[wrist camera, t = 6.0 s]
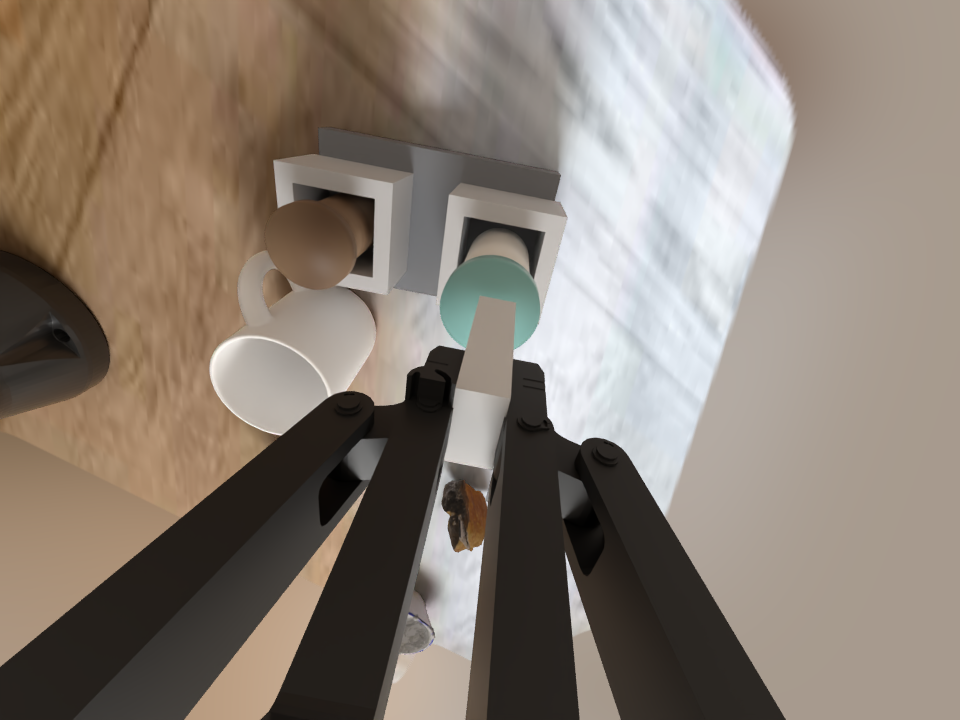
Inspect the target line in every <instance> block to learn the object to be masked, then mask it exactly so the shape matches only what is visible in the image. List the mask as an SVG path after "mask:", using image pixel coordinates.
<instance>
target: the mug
mask: <svg viewBox="0 0 960 720" xmlns="http://www.w3.org/2000/svg"><path fill="white" fill-rule="evenodd" d="M271 269H277V268H276V266H275V265H274V263H273V262H272V260H271V258H270V256H269V254H268V251H262V252H259V253H257V254H255V255H253V256H252V257H250V258H249V259H248V260H247V262H246V263H245V265H244V266H243V268H242V270H241V272H240V275H239V279H238V300H239V304H240V308H241V312H242V315H243V317H244V320H245V322H246V325H245V326H244V327H242V328H241V329H239V330H238V331H237V332H236V333H234V334H233V335H232V336H230V337H229V338H227V339H226V340H224V341H223V342H222V343H221V344H220V345H218V347H217V348H216V349H215V351H214V353H213V355H212V357H211V361H210V368H209V370H210V378H211V381H212V384H213V387H214V389H215V391H216V393H217V395H218V396H219V398H220V399H221V400H222V402H223V403H224V404H225V405H226V406H227V408H228V409H230V410H231V411H232V412H233V413H234V414H235V415H236V416H237V417H239V418H240V419H242V420H243V421H245V422H246V423H248V424H250V425H251V426H253V427H255V428H258V429H260V430H262V431H265V432H268V433H272V434H276V435H283V434H284V433H285V432H286V431H288V430H289V429H290V428H291V427H292V426H294V425H295V424H296V423H297V422H299V421H300V420H301V419H302V418H303V417H305V416H306V415H307V414H308V413H309V412H311V411H312V410H313V409H314V408H316V407H317V406H318V405H319V404H320V403H322V402H323V401H324V400H325V399H326V398H328V397H330V396H332V395H333V394H336V393H340V392H344V391H346V390H347V389H348V387H349V385H350V384H351V382H352V381H353V379H354V378H355V376H356V375H357V373H358V372H359V370H360V369H361V367H362V365H363V364H364V362H365V361H366V359H367V358H368V356H369V354H370V353H371V351H372V349H373V346H374V343H375V339H376V326H375V322H374V319H373V316H372V314H371V312H370V310H369V308H368V307H367V306H366V304H365V303H364V302H363V301H362V300H361V298H359V297H358V296H357V295H356V294H355V293H353V292H352V291H351V290H349V289H347V288H345V287H342V286H337V285H335V286H333V287H331V288H328V289H323V290H313V289H308V288H304V287H301V286H299V285H297V284H295V283H293V282H292V281H290V280H289V279H287V280H288V281H289V283H290V285H291V287H292V290H293V291H291V292H290V293H288V294H287V295H285V296H284V297H283V298H282V299H280V300H279V301H277V302H276V303H275V304H273V305H272V306H270V307H269V308H267V306H266V303H265V300H264V297H263V291H262V284H263V279H264V276H265V274H266V273H267V272H268V271H269V270H271ZM277 270H278V269H277Z"/></svg>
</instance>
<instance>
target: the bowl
mask: <svg viewBox="0 0 960 720" xmlns="http://www.w3.org/2000/svg"><path fill="white" fill-rule="evenodd" d="M434 638H435V634H434V630H433V628H432V626H431V624H430V621H429V617H428V614H427V610H426V607H425V602H424V601H423V599H422V597H421V596H420V594H419V593H418V592H416V591H415V590H414V592H413V596H412V600H411V604H410V609H409V613H408V617H407V621H406V625H405V630H404V634H403V638H402V642H401V647H400V651H399V654H404V655H406V654H414V653H418V652H421V651H423V650H425V649H427V648H428V647H429V646H430V645H431V643H432V642H433V640H434Z"/></svg>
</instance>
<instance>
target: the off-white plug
mask: <svg viewBox="0 0 960 720" xmlns="http://www.w3.org/2000/svg"><path fill="white" fill-rule="evenodd" d="M480 296H485V297H490V298H495V299H500V300H505V301H510V302H515V303H516V313H515V331H514V349H516V348H518V347H519V346H521V345H522V344H524V343H525V342H526V341H527V340H528V339H529V338H530V337H531V335H532V334H533V332H534V331H535V329H536V327H537V324H538V322H539V317H540V299H539V292H538V288H537V285H536V283H535V281H534V279H533V277H532V276H531V275H530V272H529V255H528V250H527V247H526V245H525V243H524V241H523V240H522V239H521V238H520V237H519V236H518V235H517V234H516V233H514V232H512V231H510V230H507V229H503V228H494V229H490V230H487V231H484V232H483V233H481V234H480V235H479V236H477V238H476V239H475V240H474V241H473V243H472V245H471V247H470V249H469V252H468V254H467V256H466V259H465V261H464V263H462V264H461V265H460V266H458V267H457V268H456V269H455V270H454V271H453V273H452V274H451V275H450V277H449V279H448V281H447V283H446V285H445V287H444V289H443V292H442V295H441V299H440V315H441V319H442V322H443V324H444V326H445V328H446V330H447V332H448V333H449V334H450V336H451V337H452V338H453V339H454V340H455V341H456V342H457V343H459V344H460V345H461V346H463V347H465V348H466V346H467V342H468V338H469V335H470V331H471V327H472V323H473V320H474V316H475V312H476V308H477V304H478V301H479V297H480ZM514 349H513V350H514Z"/></svg>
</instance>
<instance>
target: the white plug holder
mask: <svg viewBox="0 0 960 720" xmlns="http://www.w3.org/2000/svg"><path fill="white" fill-rule="evenodd" d="M318 138H319V155H317V154H309V155H303V156H296V157H290V158H284V159H277V160H273V162H274V172H275V183H276V193H277V204H278V208H279V207H281V206H283V205H286V204H289V203H291V202H294V201H297V200H304V199H309V200H315V201H320V200H323V199H325V198H328V197H330V196H333V195H335V194H338V193H340V192H343V193H348V194H353V195H358V196H363V197H368V198H374V199H375V214H374V244H373V245H372V246H371V247H370V248H368V249H367V250H366V251H365V252H364V253H362V254H361V255H360V256H359V257H358V258H356V263H355V265H354V267H353V269H352V271H351V272H350V273H349V275H347V276H346V277H345V278H344V279H343V280H342V281H341V282H340V283H338V284H337V286H342V287H347V288H352V289H358V290H363V291H368V292H373V293H378V294H384V295H388V294H389V293H390V291H391V290H392V289H393V288H396V289H401V290H406V291H412V292H417V293H422V294H427V295H432V296H437V300H436V305H440V299H441V295H442V292H443V289H444V287H445V285H446V283H447V281H448V279H449V277H450V275H451V274H452V273H453V271H454V270H455V269H456V268H457V267H458V266H460V265H461V264H462V263H464V261H465V259H466V256H467V254H468V252H469V249H470V247H471V245H472V243H473V241H474V240H475V239H476V238H477V236H479V235H480V234H481V233H483V232H484V231H487V230H490V229H494V228H503V229H507V230H510V231H512V232H514V233H516V234H517V235H518V236H519V237H520V238H521V239H522V240H523V241H524V243H525V245H526V247H527V250H528V255H529V272H530V275H531V276H532V277H533V279H534V281H535V283H536V285H537V288H538V292H539V299H540V317H541V313H542V309H543V306H544V302H545V298H546V295H547V291H548V287H549V284H550V280H551V276H552V273H553V269H554V265H555V262H556V258H557V254H558V251H559V247H560V243H561V240H562V236H563V232H564V229H565V225H566V221H567V215H566V213H565V211H564V209H563V207H562V205H561V203H560V202H557V201H555V197H556V193H557V189H558V185H559V181H560V177H561V175H560V173H559V172H556V171H551V170H546V169H541V168H536V167H531V166H526V165H520V164H515V163H510V162H505V161H500V160H495V159H490V158H485V157H480V156H475V155H470V154H464V153H459V152H454V151H449V150H444V149H439V148H434V147H429V146H424V145H419V144H414V143H409V142H403V141H398V140H393V139H388V138H383V137H378V136H373V135H368V134H363V133H358V132H353V131H347V130H342V129H337V128H332V127H322V128H318ZM540 317H539V320H540ZM538 324H539V322H538Z"/></svg>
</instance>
